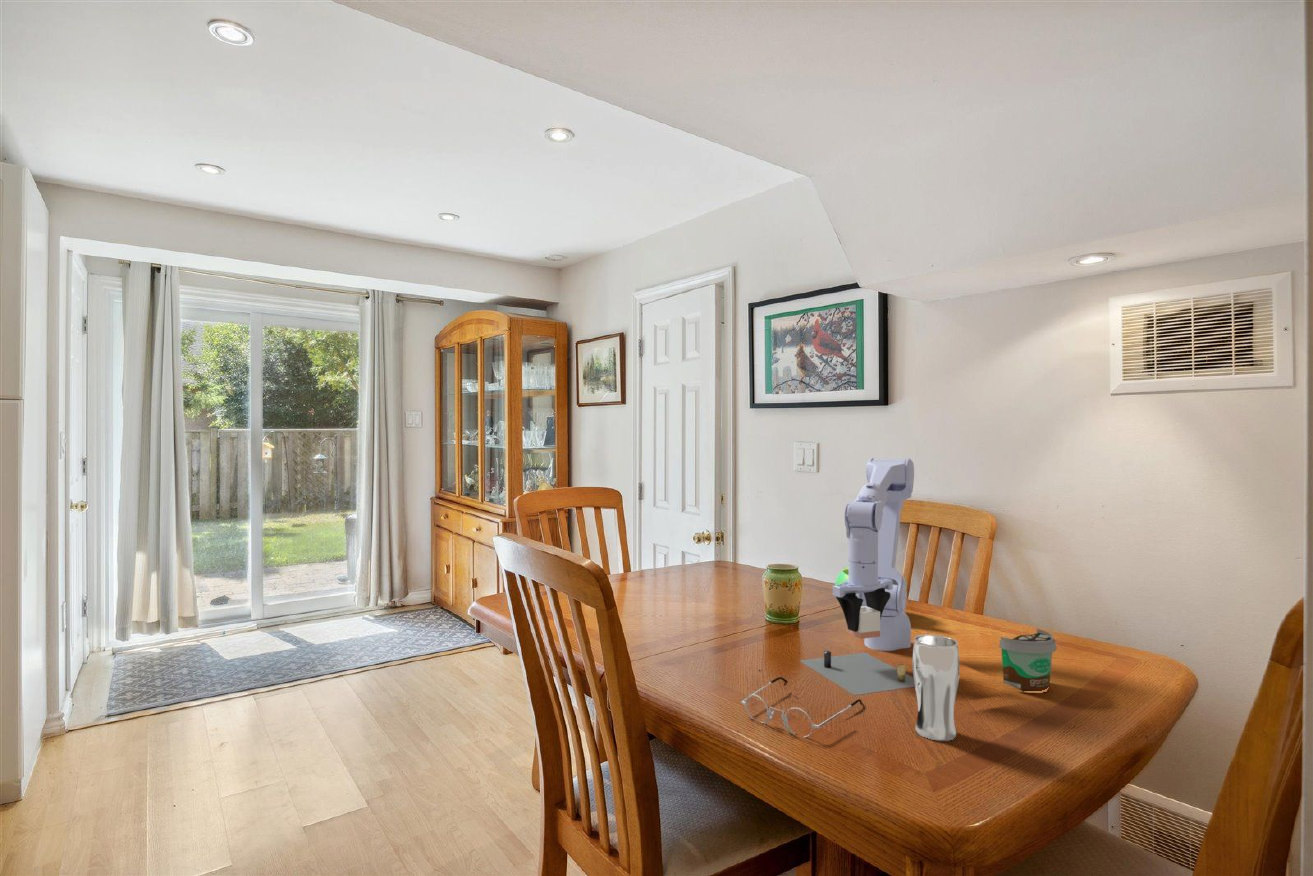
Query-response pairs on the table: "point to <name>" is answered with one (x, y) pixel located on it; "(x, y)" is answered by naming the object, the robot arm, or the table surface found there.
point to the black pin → (827, 659)
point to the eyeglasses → (784, 717)
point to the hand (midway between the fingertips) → (863, 628)
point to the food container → (1028, 660)
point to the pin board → (860, 673)
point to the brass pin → (901, 673)
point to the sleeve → (867, 623)
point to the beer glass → (935, 685)
